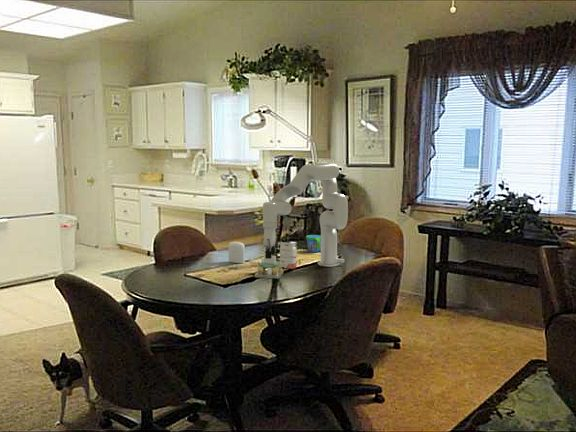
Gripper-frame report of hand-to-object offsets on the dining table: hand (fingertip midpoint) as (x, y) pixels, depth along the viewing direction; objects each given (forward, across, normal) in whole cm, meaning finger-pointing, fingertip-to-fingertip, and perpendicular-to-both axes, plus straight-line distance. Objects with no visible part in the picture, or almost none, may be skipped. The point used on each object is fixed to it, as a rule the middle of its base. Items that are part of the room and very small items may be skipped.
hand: (270, 256), depth 303 cm
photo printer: (+10, -25, -25) cm, 37 cm away
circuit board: (+4, 0, 0) cm, 5 cm away
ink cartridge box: (+10, -19, +7) cm, 22 cm away
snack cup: (+11, -67, +16) cm, 69 cm away
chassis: (+10, 0, 0) cm, 10 cm away
